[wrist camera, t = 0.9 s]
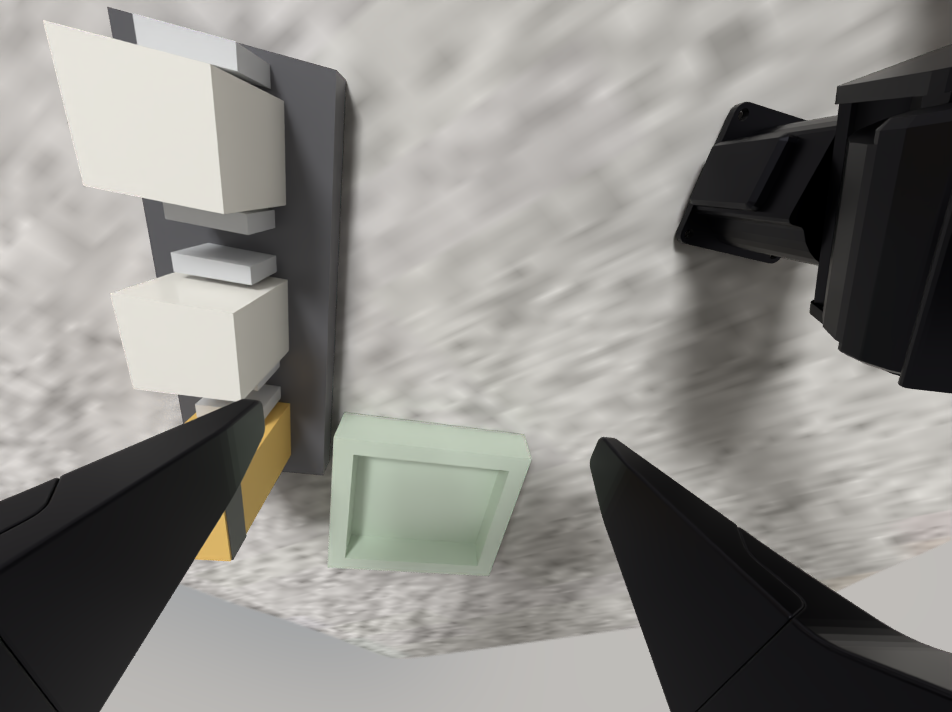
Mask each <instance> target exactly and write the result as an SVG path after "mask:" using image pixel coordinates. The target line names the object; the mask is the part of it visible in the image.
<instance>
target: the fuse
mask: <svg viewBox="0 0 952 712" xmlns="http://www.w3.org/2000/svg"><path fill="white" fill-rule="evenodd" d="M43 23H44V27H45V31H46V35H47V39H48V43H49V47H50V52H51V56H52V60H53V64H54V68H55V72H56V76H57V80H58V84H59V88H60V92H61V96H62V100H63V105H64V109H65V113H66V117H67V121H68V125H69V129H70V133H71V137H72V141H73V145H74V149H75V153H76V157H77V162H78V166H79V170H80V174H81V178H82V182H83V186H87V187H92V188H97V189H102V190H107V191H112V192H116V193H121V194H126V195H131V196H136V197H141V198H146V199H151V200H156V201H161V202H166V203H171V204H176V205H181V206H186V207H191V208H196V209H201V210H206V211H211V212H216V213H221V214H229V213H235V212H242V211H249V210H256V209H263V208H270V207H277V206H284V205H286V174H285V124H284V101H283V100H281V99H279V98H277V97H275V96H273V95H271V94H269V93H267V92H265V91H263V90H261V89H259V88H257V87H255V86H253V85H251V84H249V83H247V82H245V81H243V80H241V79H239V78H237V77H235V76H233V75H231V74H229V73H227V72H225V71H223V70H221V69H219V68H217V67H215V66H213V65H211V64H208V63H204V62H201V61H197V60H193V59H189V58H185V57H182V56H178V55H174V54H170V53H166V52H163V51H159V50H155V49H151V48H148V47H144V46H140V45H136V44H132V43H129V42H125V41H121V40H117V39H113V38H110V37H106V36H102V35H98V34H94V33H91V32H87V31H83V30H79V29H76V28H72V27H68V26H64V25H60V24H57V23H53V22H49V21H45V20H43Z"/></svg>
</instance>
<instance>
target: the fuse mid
mask: <svg viewBox="0 0 952 712" xmlns="http://www.w3.org/2000/svg"><path fill="white" fill-rule="evenodd" d="M110 296H111V300H112V304H113V308H114V312H115V316H116V320H117V325H118V329H119V333H120V337H121V341H122V345H123V349H124V353H125V357H126V361H127V365H128V369H129V373H130V378H131V382H132V386H133V389H138V390H146V391H154V392H162V393H170V394H179V395H187V396H195V397H203V398H211V399H219V400H228V401H238V400H241V399H245V397H246V396H247V395H248V394H249V393H250V392H251V391H252V390H253V389H254V388H255V387H256V386H257V385H258V384H259V382H260V381H261V380H262V379H263V378H264V377H265V376H266V375H267V374H268V373H269V372H270V371H271V370H272V368H273V367H274V366H275V365H276V364H277V363H278V362H279V361H280V360H281V359H282V358H283V357H284V356H285V355H286V353H287V352H288V351H289V326H288V280H286V279H281V278H275V277H269V276H268V277H266V278H264V279H262V280H261V281H259V282H257V283H255V284H253V285H247V284H241V283H235V282H230V281H224V280H218V279H212V278H207V277H201V276H195V275H189V274H184V273H178V272H174V273H171V274H168V275H165V276H162V277H159V278H156V279H153V280H150V281H147V282H144V283H141V284H138V285H134V286H131V287H128V288H125V289H122V290H119V291H116V292H113V293H110Z"/></svg>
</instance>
